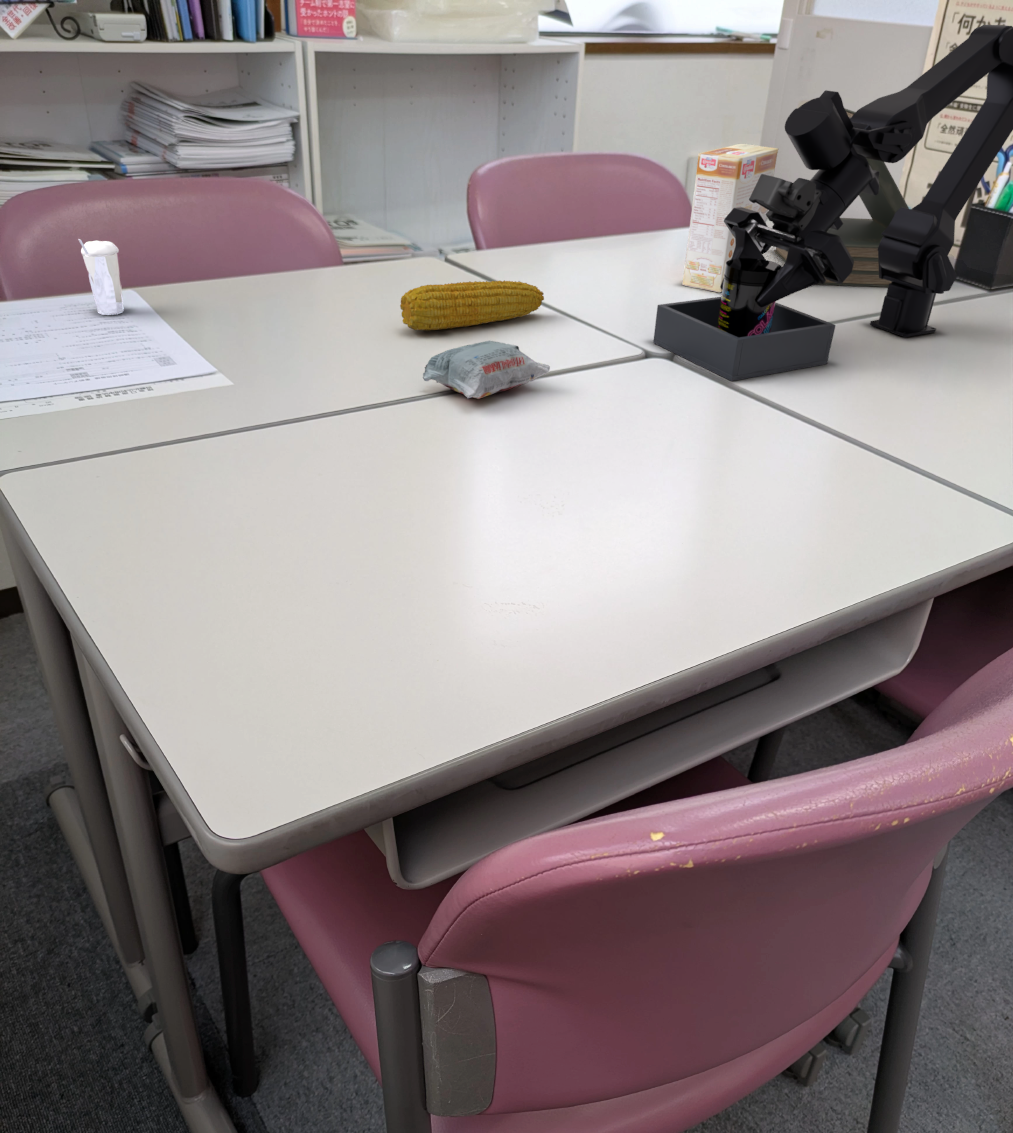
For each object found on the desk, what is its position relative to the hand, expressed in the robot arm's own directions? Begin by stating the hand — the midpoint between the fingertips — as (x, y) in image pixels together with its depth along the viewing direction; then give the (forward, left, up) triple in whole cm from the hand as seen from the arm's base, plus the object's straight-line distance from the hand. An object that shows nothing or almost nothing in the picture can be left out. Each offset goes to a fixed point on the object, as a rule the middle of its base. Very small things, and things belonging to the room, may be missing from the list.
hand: (740, 297), depth 117 cm
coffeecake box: (-23, -30, -7) cm, 39 cm away
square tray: (-1, 0, -7) cm, 7 cm away
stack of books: (-49, -28, -7) cm, 57 cm away
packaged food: (+35, -1, -7) cm, 36 cm away
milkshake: (+68, -47, -7) cm, 83 cm away
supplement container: (-1, 0, -7) cm, 7 cm away
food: (+25, -24, -7) cm, 35 cm away
